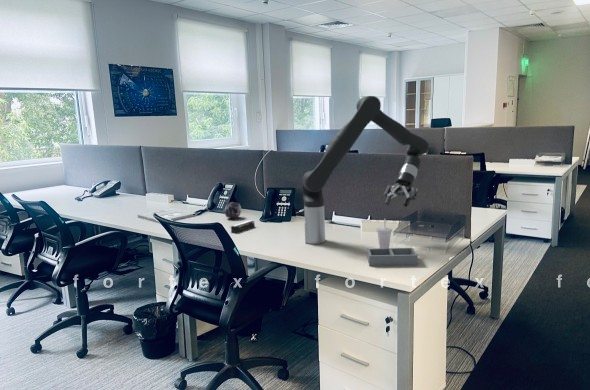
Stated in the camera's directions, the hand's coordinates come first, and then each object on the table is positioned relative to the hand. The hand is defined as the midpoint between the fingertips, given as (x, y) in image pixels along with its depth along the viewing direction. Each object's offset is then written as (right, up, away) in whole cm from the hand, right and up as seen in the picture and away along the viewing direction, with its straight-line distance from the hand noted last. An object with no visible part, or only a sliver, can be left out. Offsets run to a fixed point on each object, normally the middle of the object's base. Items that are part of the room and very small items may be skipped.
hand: (395, 205), depth 186 cm
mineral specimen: (-81, -10, +69) cm, 107 cm away
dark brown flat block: (-70, -15, +42) cm, 83 cm away
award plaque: (-125, -10, +83) cm, 150 cm away
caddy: (-6, -22, -19) cm, 29 cm away
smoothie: (-6, -19, -5) cm, 21 cm away
